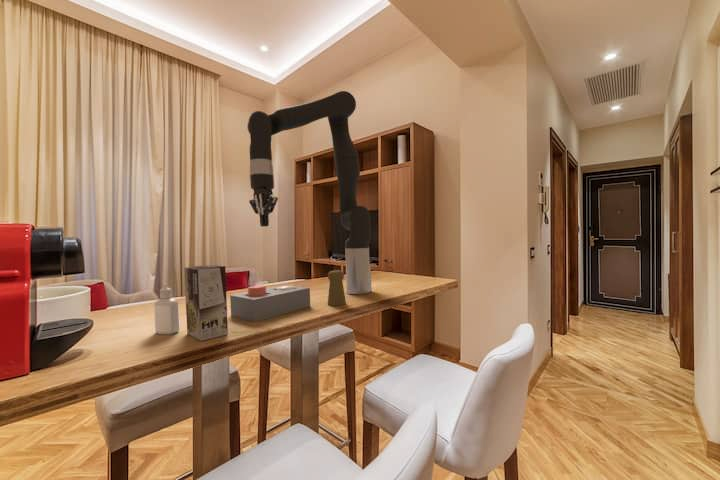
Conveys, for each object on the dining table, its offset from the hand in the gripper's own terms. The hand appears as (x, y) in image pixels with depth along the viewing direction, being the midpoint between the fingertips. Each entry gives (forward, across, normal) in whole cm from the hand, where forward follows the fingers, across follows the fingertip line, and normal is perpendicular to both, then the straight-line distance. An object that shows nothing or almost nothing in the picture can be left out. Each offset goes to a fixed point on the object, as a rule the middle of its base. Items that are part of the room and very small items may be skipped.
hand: (264, 226), depth 103 cm
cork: (+27, -21, -11) cm, 36 cm away
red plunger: (+24, -10, +11) cm, 28 cm away
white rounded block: (+26, -10, +1) cm, 28 cm away
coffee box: (+26, -14, +28) cm, 41 cm away
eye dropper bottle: (+26, -4, +33) cm, 42 cm away
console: (+26, -10, +6) cm, 29 cm away
